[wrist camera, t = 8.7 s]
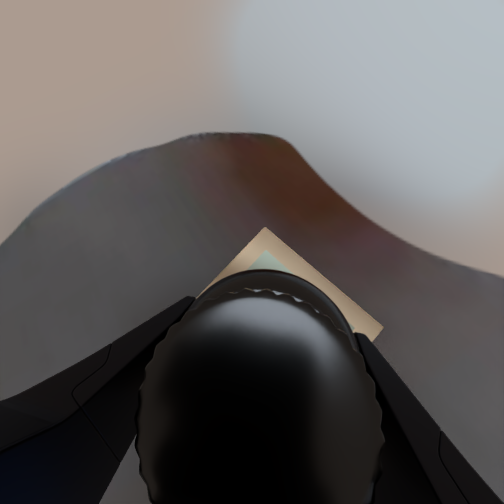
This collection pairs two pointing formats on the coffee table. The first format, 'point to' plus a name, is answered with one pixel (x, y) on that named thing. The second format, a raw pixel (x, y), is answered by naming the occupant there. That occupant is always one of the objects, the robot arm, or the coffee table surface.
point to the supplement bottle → (259, 400)
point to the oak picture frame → (285, 259)
